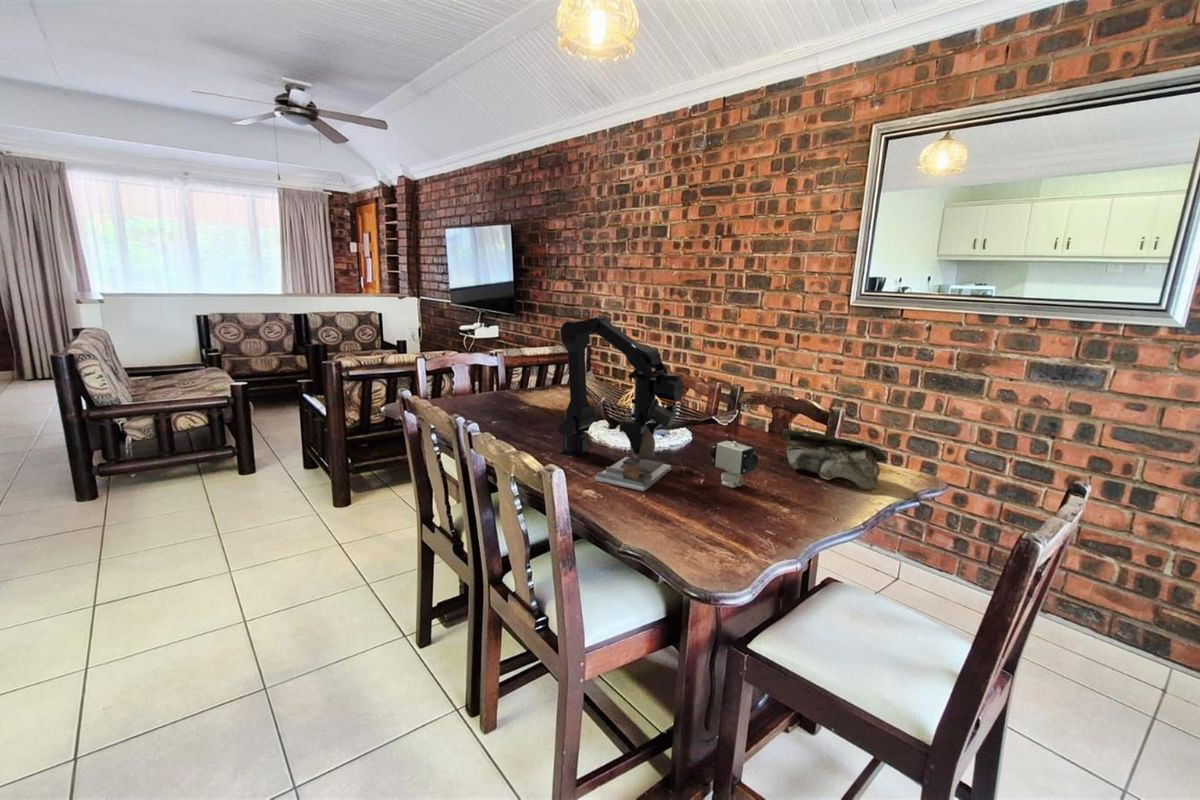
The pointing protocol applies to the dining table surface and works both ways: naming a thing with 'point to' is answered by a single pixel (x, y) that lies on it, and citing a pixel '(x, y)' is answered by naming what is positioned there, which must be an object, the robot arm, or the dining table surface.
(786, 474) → the dining table surface
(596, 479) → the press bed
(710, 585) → the dining table surface
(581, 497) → the dining table surface
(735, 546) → the dining table surface
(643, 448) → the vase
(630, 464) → the brown block
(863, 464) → the hollow geode rock
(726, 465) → the pneumatic valve
